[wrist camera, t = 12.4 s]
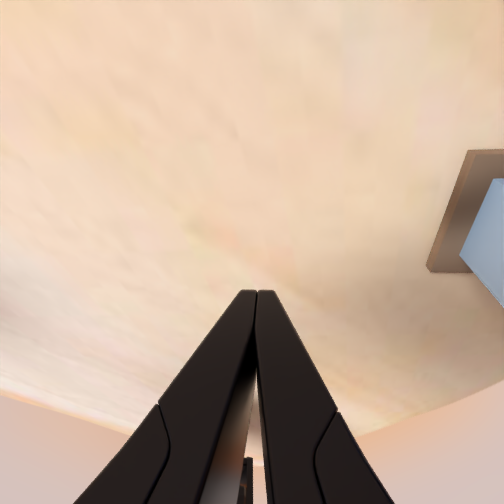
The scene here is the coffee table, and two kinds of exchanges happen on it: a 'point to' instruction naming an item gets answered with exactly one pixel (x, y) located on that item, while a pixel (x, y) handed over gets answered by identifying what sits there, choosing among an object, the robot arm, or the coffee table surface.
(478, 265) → the pale blue foam brick
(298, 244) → the coffee table surface
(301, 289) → the coffee table surface
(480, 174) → the brown square stand
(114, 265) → the coffee table surface
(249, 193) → the coffee table surface
